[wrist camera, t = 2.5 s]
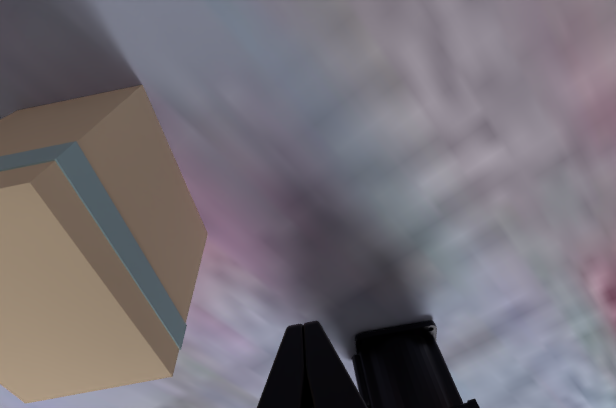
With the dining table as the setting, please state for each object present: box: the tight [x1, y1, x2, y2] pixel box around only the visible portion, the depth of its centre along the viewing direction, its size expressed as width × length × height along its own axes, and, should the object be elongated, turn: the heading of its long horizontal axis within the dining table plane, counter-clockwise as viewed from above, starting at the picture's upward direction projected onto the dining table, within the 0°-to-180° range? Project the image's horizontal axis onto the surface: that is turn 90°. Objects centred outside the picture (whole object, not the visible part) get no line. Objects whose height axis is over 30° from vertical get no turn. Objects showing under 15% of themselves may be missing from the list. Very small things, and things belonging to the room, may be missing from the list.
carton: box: [0, 85, 208, 403], centre depth 15 cm, size 6×9×9 cm
